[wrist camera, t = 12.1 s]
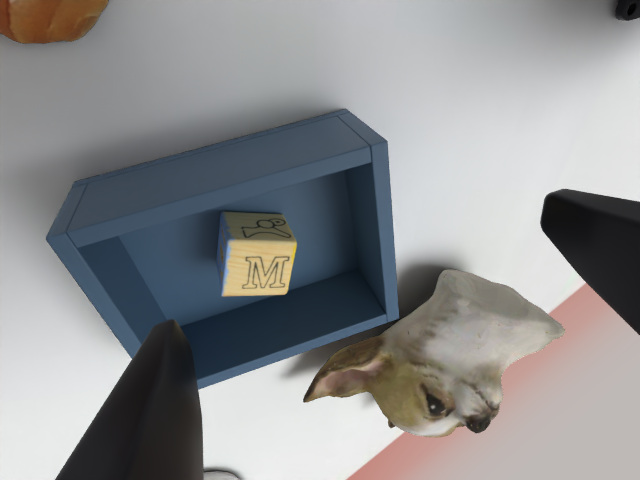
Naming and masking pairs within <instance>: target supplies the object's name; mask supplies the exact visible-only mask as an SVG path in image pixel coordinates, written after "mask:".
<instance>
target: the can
mask: <svg viewBox="0 0 640 480" xmlns="http://www.w3.org/2000/svg"><path fill="white" fill-rule="evenodd" d="M204 480H240V479H238V478H237V477H236V476H235V475H233V474H231V473H228V472H221V471H214V472H205V473H204Z"/></svg>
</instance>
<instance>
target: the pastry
mask: <svg viewBox="0 0 640 480" xmlns="http://www.w3.org/2000/svg"><path fill="white" fill-rule="evenodd" d="M108 1H109V0H0V33H1V34H3V35H5V36H6V37H8V38H10V39H12V40H14V41H16V42H20V43H25V44H27V43H43V44H44V43H50V42H57V41H63V40H65V41H70V42H72V41H74V40H77V39H80V38H81V37H83V36H84V35H85V34H86V33H87V32H88V31H89V30H90V29H91V28H92V27H93V26H94V25H95V23H96V22H97V20H98V18H99V16H100V14H101V12H103V10H104V9H105V8H106V6H107V3H108Z"/></svg>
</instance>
